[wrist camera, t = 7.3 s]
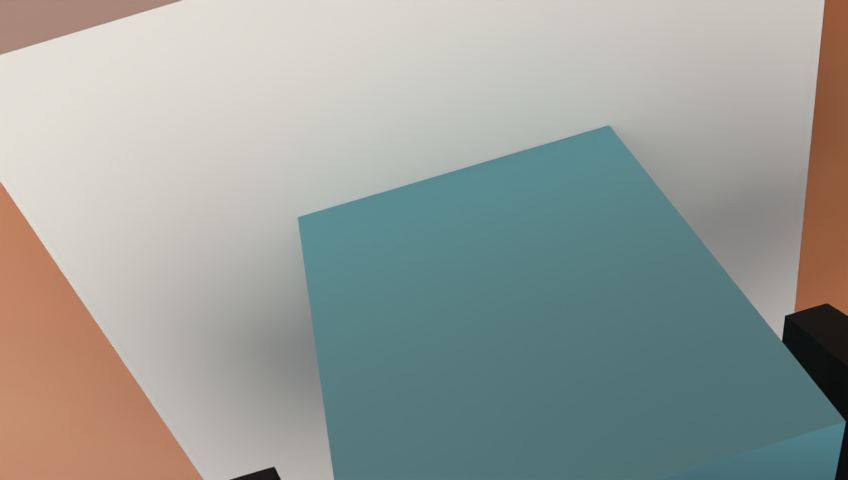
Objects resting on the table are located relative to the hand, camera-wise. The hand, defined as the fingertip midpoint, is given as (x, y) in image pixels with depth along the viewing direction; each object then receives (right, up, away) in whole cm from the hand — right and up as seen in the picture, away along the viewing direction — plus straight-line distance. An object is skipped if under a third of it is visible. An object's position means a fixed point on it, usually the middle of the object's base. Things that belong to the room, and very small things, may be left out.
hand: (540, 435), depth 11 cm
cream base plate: (-1, +4, +5) cm, 6 cm away
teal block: (-1, +2, +3) cm, 3 cm away
